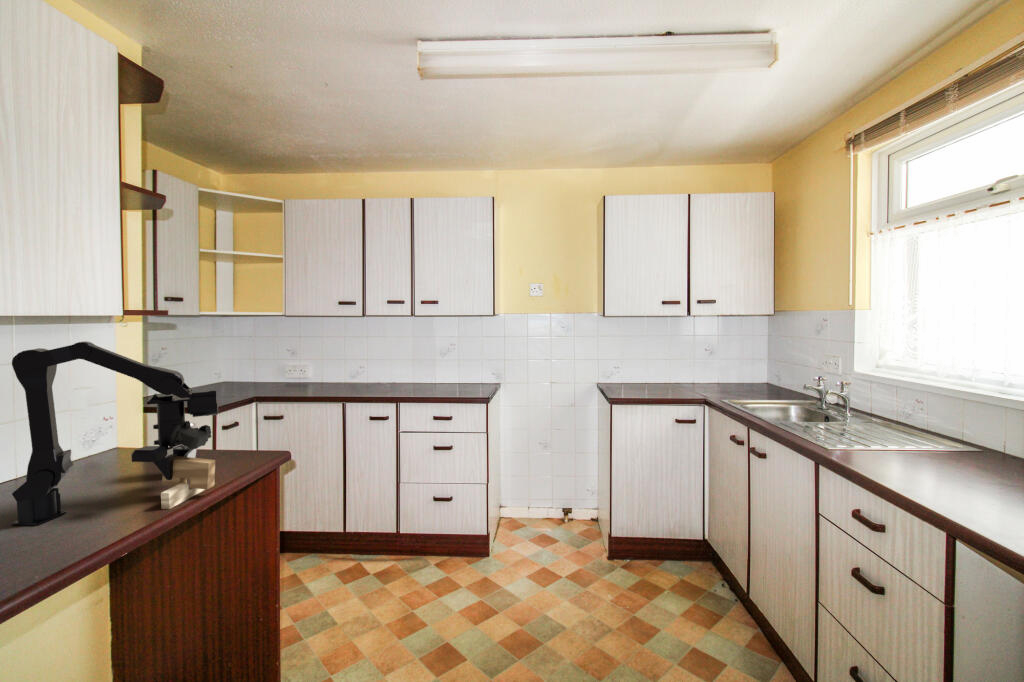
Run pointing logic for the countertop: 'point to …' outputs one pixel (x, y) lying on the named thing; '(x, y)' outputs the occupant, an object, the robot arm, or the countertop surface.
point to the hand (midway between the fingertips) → (173, 477)
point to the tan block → (192, 472)
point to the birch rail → (178, 495)
